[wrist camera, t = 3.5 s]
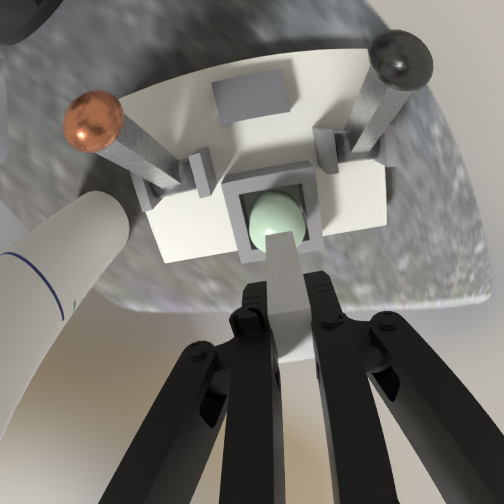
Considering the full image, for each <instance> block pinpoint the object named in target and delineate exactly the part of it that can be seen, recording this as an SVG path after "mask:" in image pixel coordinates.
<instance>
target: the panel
mask: <svg viewBox="0 0 504 504" xmlns="http://www.w3.org/2000/svg"><path fill="white" fill-rule="evenodd" d="M369 67H370V63H369V57H368V50H367V49H327V50H312V51H301V52H291V53H283V54H276V55H269V56H263V57H257V58H251V59H246V60H241V61H236V62H231V63H227V64H223V65H218V66H214V67H210V68H207V69H203V70H199V71H196V72H192V73H189V74H185V75H182V76H179V77H176V78H173V79H170V80H167V81H164V82H161V83H158V84H155V85H153V86H150V87H147V88H145V89H142V90H139V91H137V92H134V93H132V94H130V95H127V96H125V97H122V98H120V99H118V100H119V102H120V103H121V105H122V108H123V112H124V114H126V115H127V116H128V117H129V118H130V119H132V120H133V121H134V122H135V123H136V124H137V125H139V126H140V127H141V128H142V129H143V130H145V131H146V132H147V133H148V134H149V135H150V136H152V137H153V138H154V139H155V140H156V141H157V142H158V143H160V144H161V145H162V146H163V147H164V148H165V149H167V150H168V151H169V152H170V153H171V154H172V155H174V156H175V157H176V158H177V159H178V160H181V159H185V158H189V161H190V165H191V169H192V172H193V176H194V180H195V183H196V187H197V189H196V190H192V191H187V192H183V193H179V194H175V195H171V196H167V197H163V198H158V197H157V196H156V195H155V193H154V191H153V188H152V185H151V182H150V181H148V180H146V179H144V178H142V177H140V176H138V175H137V174H135V173H133V172H131V173H130V175H131V178H132V181H133V185H134V188H135V191H136V194H137V197H138V200H139V203H140V206H141V208H142V211H143V212H146V214H147V217H148V220H149V222H150V225H151V228H152V231H153V233H154V236H155V239H156V241H157V244H158V247H159V249H160V252H161V255H162V257H163V260H164V262H165V263H170V262H175V261H181V260H187V259H192V258H198V257H204V256H209V255H215V254H221V253H226V252H232V251H238V253H239V257H240V261H241V264H244V263H250V262H256V261H262V260H266V253H265V252H263V251H261V250H260V249H258V248H257V247H256V246H255V245H254V243H253V242H252V240H251V237H250V233H249V226H250V213H251V207H252V204H253V202H254V201H255V199H256V198H257V197H258V196H259V195H261V194H262V193H264V192H267V191H270V190H280V191H284V192H286V193H288V194H290V195H291V196H292V197H293V198H294V199H295V200H296V202H297V204H298V206H299V209H300V211H301V214H302V217H303V219H304V222H305V228H306V230H305V236H304V238H303V240H302V242H301V243H300V245H299V246H298V247H297V252H298V254H303V253H308V252H314V251H320V250H324V243H323V236H325V235H331V234H336V233H342V232H348V231H354V230H360V229H366V228H372V227H378V226H384V225H386V181H385V166H386V167H396V166H397V155H396V142H395V132H394V124H389V126H388V127H387V128H386V130H385V131H384V132H383V134H382V135H381V136H380V138H379V139H378V142H379V155H378V158H377V159H372V160H363V161H354V162H346V163H338V160H337V152H336V145H335V138H334V131H333V130H342V129H344V128H345V125H346V123H347V121H348V118H349V116H350V114H351V111H352V109H353V106H354V104H355V102H356V99H357V97H358V94H359V92H360V90H361V87H362V85H363V82H364V80H365V77H366V75H367V72H368V70H369Z"/></svg>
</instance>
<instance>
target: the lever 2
mask: <svg viewBox="0 0 504 504" xmlns="http://www.w3.org/2000/svg"><path fill="white" fill-rule="evenodd" d="M368 57H369V63H370V67H369V70H368V72H367V75H366V77H365V80H364V82H363V85H362V87H361V90H360V92H359V94H358V97H357V99H356V102H355V104H354V106H353V109H352V111H351V114H350V116H349V118H348V121H347V123H346V125H345V128H344V129H342V130H333V131H334V138H335V145H336V152H337V160H338V163H346V162H354V161H363V160H372V159H377V158H378V155H379V142H378V139H379V138H380V136H381V135H382V134H383V132H384V131H385V130H386V128H387V127H388V126H389V124H390V123H391V122H392V120H393V119H394V118H395V116H396V115H397V114H398V112H399V111H400V109H401V108H402V107H403V105H404V104H405V103H406V101H407V100H408V98H409V97H410V96H411V94H412V93H413V92H414V91H415V90H418V89H420V88H422V87H424V86H425V85H426V84H427V83H428V82H429V80H430V78H431V76H432V73H433V60H432V56H431V54H430V52H429V50H428V48H427V47H426V46H425V44H424V43H423V42H422V41H421V40H420V39H419V38H417V37H416V36H414V35H413V34H411V33H408V32H406V31H402V30H387V31H384V32H382V33H380V34H378V35H377V36H376V37H375V38H374V39H373V41H372V42H371V44H370V47H369V52H368Z"/></svg>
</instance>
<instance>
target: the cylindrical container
mask: <svg viewBox="0 0 504 504" xmlns="http://www.w3.org/2000/svg"><path fill="white" fill-rule="evenodd" d="M129 230H130V229H129V221H128V217H127V215H126V213H125V210H124V209H123V207H122V206H121V204H120V203H119V202H118V201H117V200H116V199H115V198H113V197H112V196H111V195H109V194H107V193H105V192H101V191H91V192H87V193H85V194H83V195H82V196H80V197H79V198H77V199H76V200H74V201H73V202H71V203H70V204H68V205H67V206H65V207H64V208H62V209H61V210H59V211H58V212H56V213H55V214H54V215H52V216H51V217H49V218H48V219H46V220H45V221H44V222H42V223H41V224H39V225H38V226H37V227H35V228H34V229H33V230H31V231H30V232H29V233H27V234H26V235H25V236H23V237H22V238H21V239H20V240H18V241H17V242H16V243H15V244H13V245H12V246H11V247H10V248H8V249H7V250H6V251H5V252H4V253H2V254H1V255H0V441H1V439H2V436H3V434H4V432H5V430H6V427H7V425H8V423H9V421H10V419H11V417H12V415H13V413H14V411H15V409H16V407H17V405H18V403H19V401H20V399H21V397H22V395H23V393H24V391H25V390H26V388H27V386H28V384H29V382H30V380H31V379H32V377H33V375H34V373H35V372H36V370H37V368H38V366H39V365H40V363H41V361H42V360H43V358H44V357H45V355H46V353H47V352H48V350H49V349H50V347H51V345H52V344H53V342H54V341H55V339H56V337H57V336H58V334H59V333H60V331H61V330H62V328H63V327H64V325H65V324H66V323H67V321H68V320H69V318H70V317H71V315H72V314H73V312H74V311H75V309H76V308H77V307H78V305H79V304H80V302H81V301H82V300H83V298H84V297H85V296H86V294H87V293H88V292H89V290H90V289H91V288H92V286H93V285H94V284H95V282H96V281H97V280H98V278H99V277H100V276H101V274H102V273H103V272H104V271H105V269H106V268H107V267H108V266H109V264H110V263H111V262H112V261H113V259H114V258H115V257H116V256H117V254H118V253H119V252H120V251H121V250H122V248H123V247H124V246H125V244H126V242H127V241H128V237H129Z"/></svg>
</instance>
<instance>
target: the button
mask: <svg viewBox="0 0 504 504" xmlns="http://www.w3.org/2000/svg"><path fill="white" fill-rule="evenodd" d="M305 230H306V228H305V222H304V219H303V217H302V214H301V211H300V209H299V206H298V204H297V202H296V200H295V199H294V198H293V197H292V196H291V195H290V194H288V193H286V192H284V191H280V190H270V191H267V192H264V193H262V194H261V195H259V196H258V197H257V198H256V199H255V201H254V202H253V204H252V207H251V213H250V226H249V233H250V237H251V240H252V242H253V243H254V245H255V246H256V247H257V248H258V249H260V250H261V251H263V252H265V253H266V245H265V235H270V234H276V233H282V232H288V231H292V232H293V236H294V240H295V244H296V248H297V247H298V246H299V245H300V243H301V242H302V240H303V238H304V236H305Z"/></svg>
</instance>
